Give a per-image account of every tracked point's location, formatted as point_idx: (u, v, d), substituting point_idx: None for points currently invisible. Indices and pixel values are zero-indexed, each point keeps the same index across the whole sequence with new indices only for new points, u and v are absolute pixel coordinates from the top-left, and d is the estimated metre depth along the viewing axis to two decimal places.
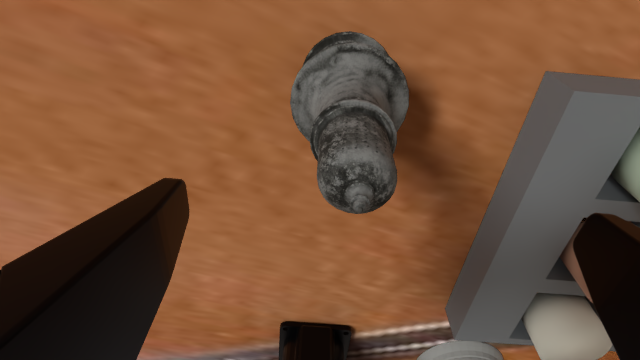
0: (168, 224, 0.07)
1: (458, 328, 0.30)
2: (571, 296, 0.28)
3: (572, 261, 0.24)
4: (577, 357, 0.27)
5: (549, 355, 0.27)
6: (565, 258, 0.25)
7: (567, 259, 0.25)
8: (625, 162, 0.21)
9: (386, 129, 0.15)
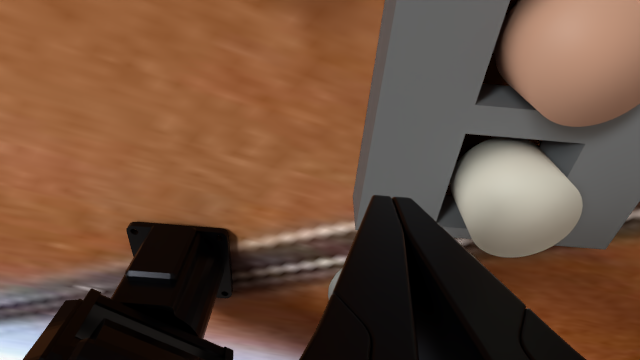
0: None
1: (358, 209, 0.20)
2: (520, 144, 0.18)
3: (511, 52, 0.15)
4: (529, 237, 0.17)
5: (485, 233, 0.17)
6: (502, 58, 0.15)
7: (505, 57, 0.15)
8: None
9: None
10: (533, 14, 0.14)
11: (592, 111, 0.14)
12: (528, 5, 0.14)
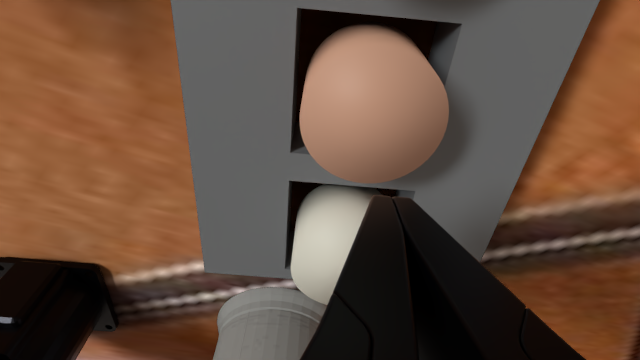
0: None
1: None
2: (351, 190, 0.17)
3: None
4: None
5: (311, 284, 0.17)
6: None
7: None
8: None
9: None
10: (312, 67, 0.13)
11: (379, 168, 0.13)
12: (315, 56, 0.14)
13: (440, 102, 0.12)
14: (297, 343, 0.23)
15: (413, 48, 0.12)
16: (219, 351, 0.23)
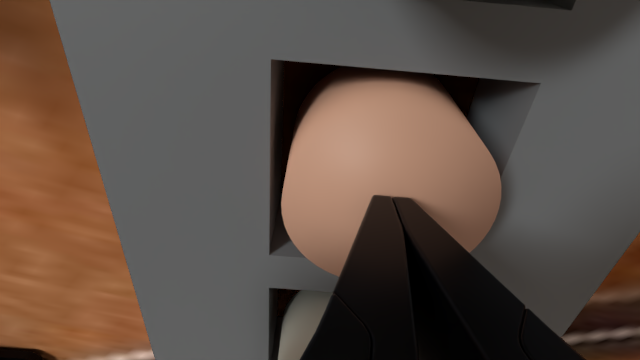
0: None
1: None
2: None
3: None
4: None
5: None
6: None
7: None
8: None
9: None
10: (300, 126, 0.09)
11: None
12: (306, 107, 0.10)
13: (489, 186, 0.08)
14: None
15: (448, 104, 0.08)
16: None
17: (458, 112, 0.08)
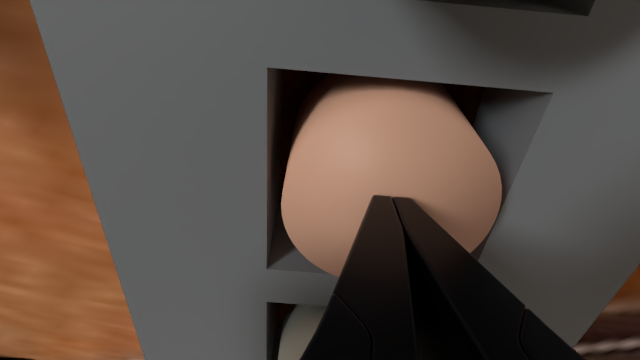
0: None
1: None
2: None
3: None
4: None
5: None
6: None
7: None
8: None
9: None
10: (300, 127, 0.09)
11: None
12: (306, 107, 0.10)
13: (489, 187, 0.08)
14: None
15: (448, 105, 0.08)
16: None
17: (458, 112, 0.08)
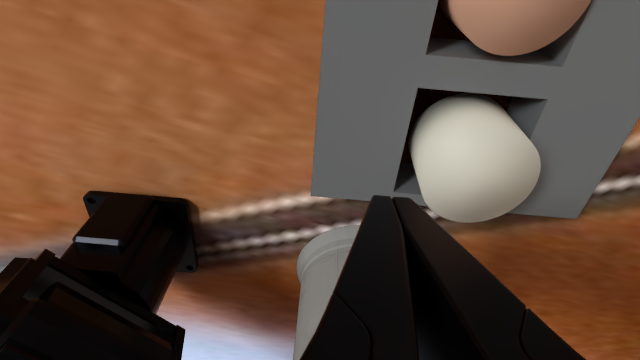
0: None
1: None
2: (478, 100, 0.17)
3: None
4: (486, 200, 0.16)
5: (438, 195, 0.16)
6: None
7: None
8: None
9: None
10: None
11: (522, 38, 0.14)
12: None
13: None
14: None
15: None
16: (310, 285, 0.23)
17: None
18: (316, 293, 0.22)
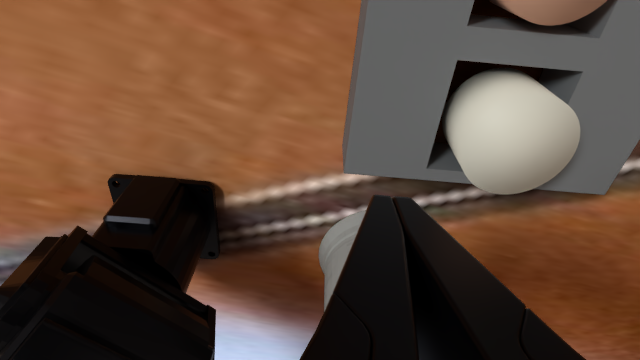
0: None
1: (347, 150, 0.19)
2: (515, 73, 0.17)
3: None
4: (525, 170, 0.17)
5: (478, 166, 0.17)
6: None
7: None
8: None
9: None
10: None
11: (564, 7, 0.15)
12: None
13: None
14: None
15: None
16: (338, 267, 0.23)
17: None
18: None
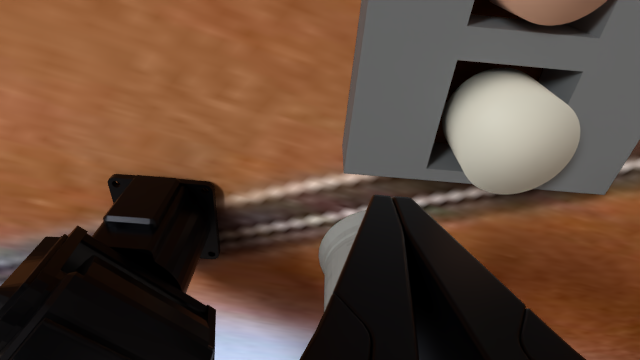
0: None
1: (347, 150, 0.19)
2: (515, 73, 0.17)
3: None
4: (525, 170, 0.17)
5: (478, 166, 0.17)
6: None
7: None
8: None
9: None
10: None
11: (564, 7, 0.15)
12: None
13: None
14: None
15: None
16: (338, 267, 0.23)
17: None
18: None
